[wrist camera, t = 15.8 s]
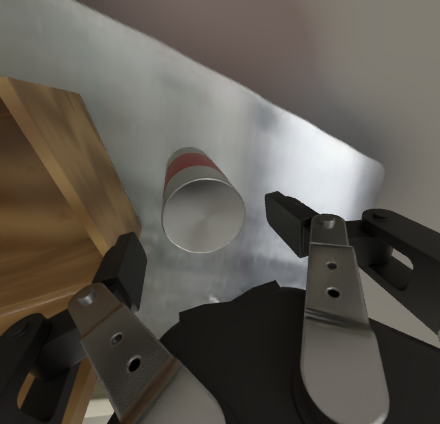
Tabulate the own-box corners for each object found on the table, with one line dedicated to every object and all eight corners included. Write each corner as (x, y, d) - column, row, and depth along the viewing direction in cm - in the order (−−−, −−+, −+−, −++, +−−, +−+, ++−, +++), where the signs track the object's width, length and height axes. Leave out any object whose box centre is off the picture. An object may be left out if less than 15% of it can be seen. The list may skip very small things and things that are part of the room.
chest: (-132, 135, 16) (-424, 155, 8) (79, 93, 17) (5, 76, 10) (0, 265, 23) (-89, 343, 15) (141, 226, 24) (127, 278, 17)
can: (174, 197, 24) (176, 263, 13) (159, 153, 21) (147, 191, 11) (216, 186, 24) (250, 241, 14) (207, 142, 22) (240, 167, 11)
